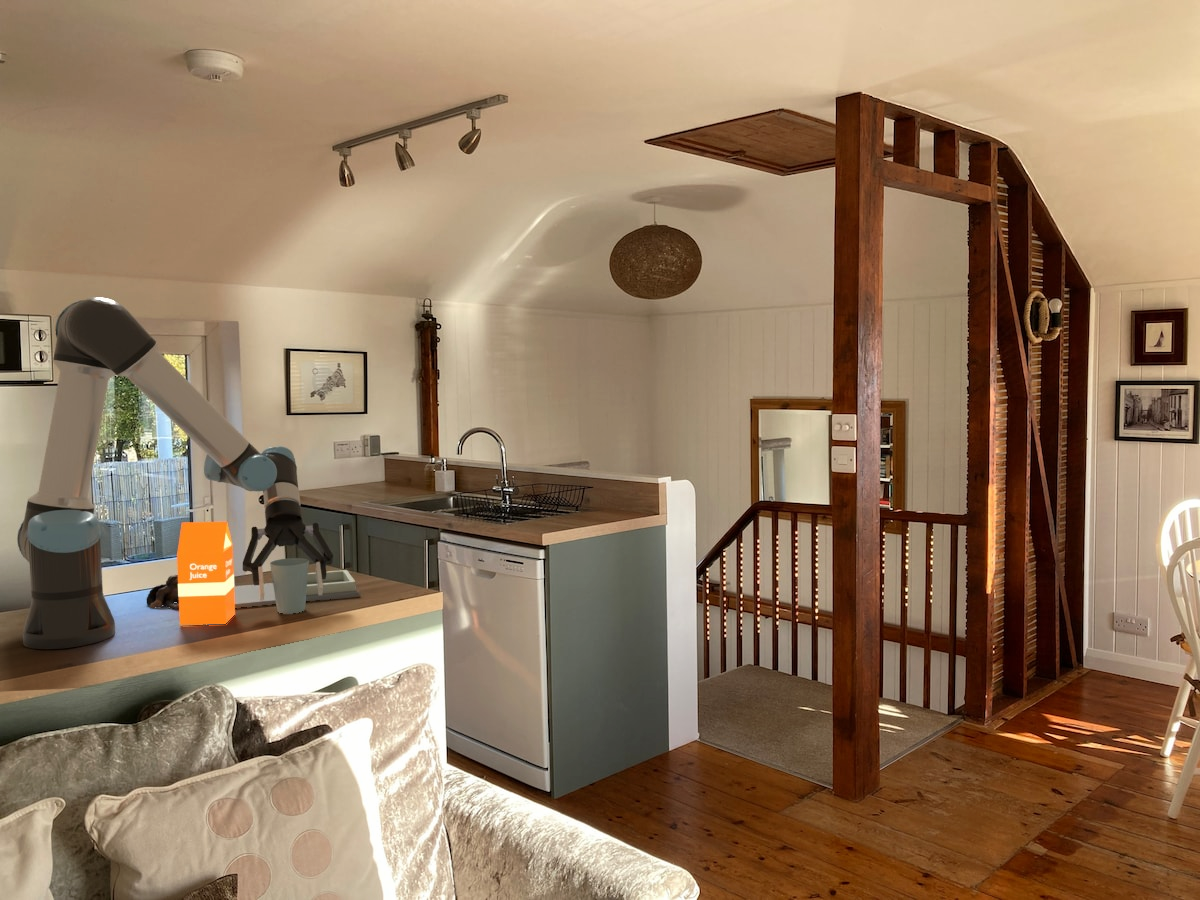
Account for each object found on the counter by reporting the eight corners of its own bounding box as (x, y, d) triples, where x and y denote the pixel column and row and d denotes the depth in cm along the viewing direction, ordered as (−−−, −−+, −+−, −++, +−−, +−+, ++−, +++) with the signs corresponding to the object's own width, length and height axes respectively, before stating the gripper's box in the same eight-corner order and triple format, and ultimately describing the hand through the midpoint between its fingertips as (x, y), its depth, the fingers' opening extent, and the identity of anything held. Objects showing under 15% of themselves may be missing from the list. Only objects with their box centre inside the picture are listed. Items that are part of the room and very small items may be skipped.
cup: (263, 612, 196) (262, 562, 195) (293, 604, 202) (292, 556, 201) (288, 617, 192) (287, 567, 191) (317, 609, 198) (316, 560, 197)
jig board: (233, 608, 198) (232, 594, 198) (230, 590, 214) (229, 577, 214) (359, 596, 209) (359, 583, 208) (347, 580, 224) (347, 568, 224)
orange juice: (226, 625, 186) (222, 524, 185) (179, 626, 185) (174, 525, 183) (235, 614, 194) (232, 518, 192) (190, 616, 193) (186, 519, 191)
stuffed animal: (160, 609, 195) (141, 569, 201) (152, 641, 200) (134, 601, 206) (217, 598, 203) (197, 560, 209) (208, 629, 208) (189, 591, 214)
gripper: (336, 515, 214) (348, 598, 201) (225, 522, 205) (231, 609, 192) (338, 495, 209) (351, 579, 196) (225, 501, 199) (231, 589, 187)
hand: (291, 594), depth 194 cm, fingers open, 11 cm apart
